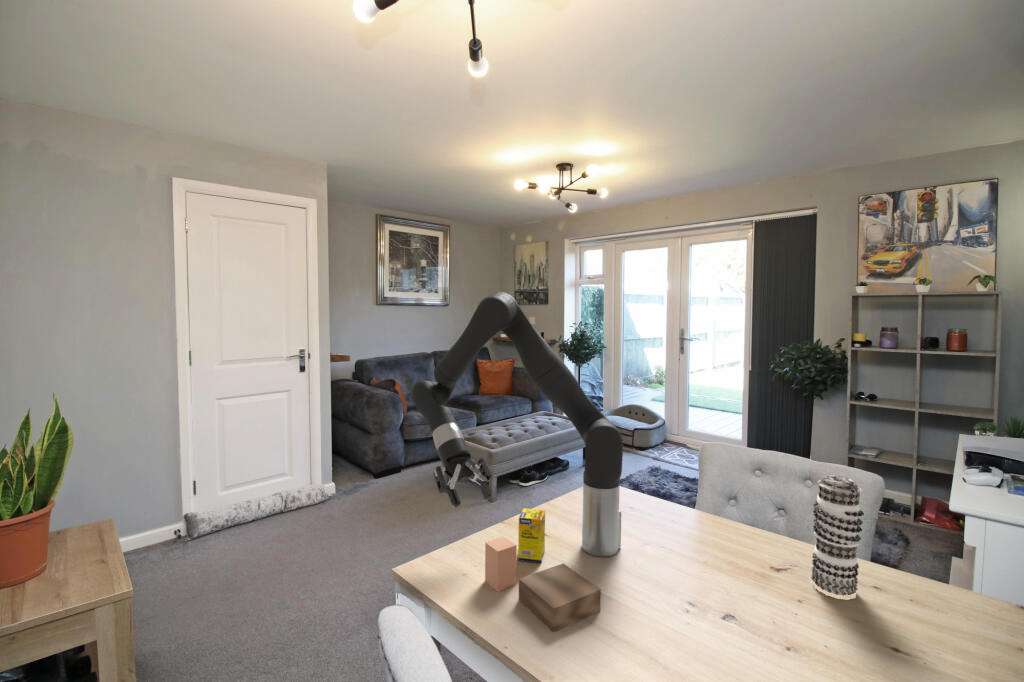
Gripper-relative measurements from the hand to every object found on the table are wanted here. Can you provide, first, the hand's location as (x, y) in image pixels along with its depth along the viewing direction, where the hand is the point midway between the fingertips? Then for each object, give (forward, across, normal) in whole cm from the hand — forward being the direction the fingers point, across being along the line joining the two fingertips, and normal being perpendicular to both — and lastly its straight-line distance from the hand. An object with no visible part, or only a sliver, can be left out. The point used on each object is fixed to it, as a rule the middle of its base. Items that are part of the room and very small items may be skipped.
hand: (473, 501), depth 116 cm
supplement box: (+15, +13, +6) cm, 21 cm away
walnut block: (+29, +5, -8) cm, 30 cm away
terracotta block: (+19, 0, +2) cm, 19 cm away
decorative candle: (+50, +59, -30) cm, 83 cm away
